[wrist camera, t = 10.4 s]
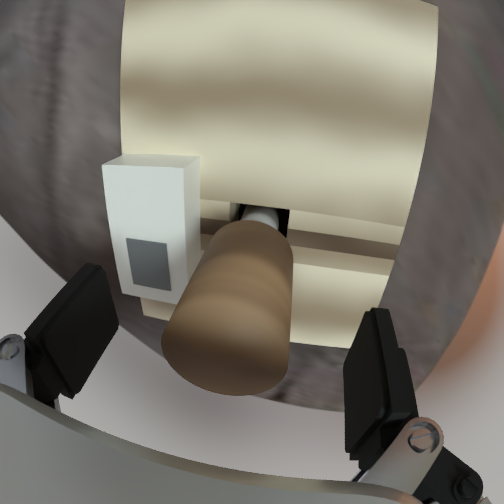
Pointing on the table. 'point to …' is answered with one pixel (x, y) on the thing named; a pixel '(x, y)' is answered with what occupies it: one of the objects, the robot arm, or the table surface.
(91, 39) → the table surface
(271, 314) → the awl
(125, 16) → the cream slotted tray
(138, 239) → the block
